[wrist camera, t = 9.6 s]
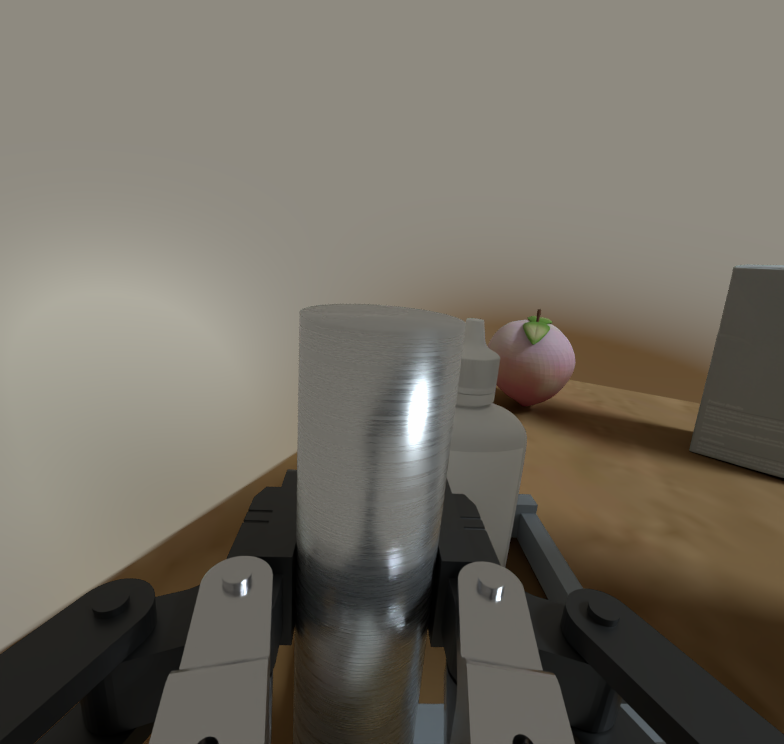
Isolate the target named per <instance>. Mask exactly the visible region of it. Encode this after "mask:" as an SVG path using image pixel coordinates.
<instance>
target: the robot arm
mask: <svg viewBox="0 0 784 744" xmlns="http://www.w3.org/2000/svg"><path fill="white" fill-rule="evenodd" d="M296 521H297V470H287V472H286V475H285V478H284V481H283V484H282V486H281V487H266V488H264V489H263V490H262V491H261V492H260V493H258V494H257V495H256V496H255V497H254V499H253V501H252V503H251V505H250V508H249V511H248V512H247V514H246V516H245V519H244V523H242V525H241V528H240V530H239V532H238V534H237V536H236V539H235V541H234V543H233V545H232V548H231V550H230V552H229V554H228V556H227V559H226V560H224V561H222V562H220V563H218V564H216V565H215V566H213V567H212V568H211V569H210V570H208V572H207V573H206V574H205V575H204V577H203V579H202V581H201V584H200V585H198V586H196V587H194V588H191V589H188V590H184V591H180V592H176V593H171V594H167V595H162V596H158V597H155V592H154V589H153V587H152V586H151V585H150V584H149V583H148V582H146V581H144V580H140V579H120V580H115V581H112V582H108V583H106V584H103V585H101V586H98V587H97V588H95V589H93V590H91V591H89V592H88V593H86V594H85V595H83V596H82V597H81V598H79V599H78V600H76V601H75V602H74V603H72V604H71V605H69V606H68V607H66V608H65V609H64V610H62V611H61V612H59V613H58V614H57V615H55V616H54V617H52V618H51V619H50V620H48V621H47V622H45V623H44V624H43V625H41V626H40V627H38V628H37V629H36V630H34V631H33V632H31V633H30V634H28V635H27V636H26V637H24V638H23V639H21V640H20V641H19V642H17V643H16V644H14V645H13V646H12V647H10V648H9V649H7V650H6V651H5V652H3V653H2V654H0V744H34V743H35V742H36V741H37V740H38V739H39V738H40V737H41V736H42V735H43V734H45V733H46V732H47V731H48V730H49V729H50V728H51V727H52V726H53V725H54V724H55V723H56V722H57V721H59V720H60V719H61V718H62V717H63V716H64V715H65V714H66V713H67V712H68V711H69V710H70V709H71V708H73V707H74V706H75V705H76V704H77V703H78V702H79V701H80V702H79V703H78V704H77V705H76V706H75V707H74V708H73V709H72V710H70V711H69V712H68V713H67V714H66V715H65V716H64V717H63V718H62V719H61V720H60V721H59V722H58V723H56V724H55V725H54V726H53V727H52V728H51V729H50V730H49V731H48V732H47V733H46V734H45V735H44V736H42V737H41V738H40V739H39V740H38V741H37V742H36V743H35V744H143V742H144V741H145V740H146V739H147V738H148V737H149V735H150V734H151V733H152V734H151V738H150V742H149V744H271V727H272V693H273V668H274V665H275V662H276V657H277V653H278V648H279V645H291V644H292V638H293V633H294V628H295V596H296ZM428 632H429V638H430V644H431V647H444V649H445V654H446V665H445V672H444V744H656V743H655V742H654V741H653V740H652V739H651V738H650V737H649V736H648V735H647V733H646V732H645V731H644V730H643V729H642V728H641V727H640V726H639V725H638V724H637V723H636V722H635V721H634V720H633V719H632V718H631V717H630V716H629V715H628V714H627V712H626V711H625V710H624V709H623V708H622V707H621V706H620V705H621V702H622V699H623V700H624V701H625V702H626V703H627V704H628V705H629V706H630V707H631V708H632V709H633V710H634V711H635V712H636V713H637V714H638V715H639V716H640V717H641V718H642V719H643V720H644V721H645V722H646V723H647V724H648V725H649V726H650V727H651V728H652V729H653V730H654V731H655V733H656V734H657V735H658V736H659V737H660V738H661V739H662V740H663V741H664V742H665V743H666V744H784V734H782V733H781V732H780V731H779V730H777V729H776V728H775V727H774V726H773V725H771V724H770V723H769V722H768V721H766V720H765V719H764V718H763V717H762V716H760V715H759V714H758V713H757V712H755V711H754V710H753V709H752V708H751V707H749V706H748V705H747V704H746V703H744V702H743V701H742V700H741V699H740V698H738V697H737V696H736V695H735V694H733V693H732V692H731V691H730V690H729V689H727V688H726V687H725V686H724V685H722V684H721V683H720V682H719V681H718V680H716V679H715V678H714V677H713V676H711V675H710V674H709V673H708V672H707V671H705V670H704V669H703V668H702V667H700V666H699V665H698V664H697V663H696V662H694V661H693V660H692V659H691V658H689V657H688V656H687V655H686V654H685V653H683V652H682V651H681V650H680V649H678V648H677V647H676V646H675V645H674V644H672V643H671V642H670V641H669V640H667V639H666V638H665V637H664V636H663V635H661V634H660V633H659V632H658V631H656V630H655V629H654V628H653V627H652V626H650V625H649V624H648V623H647V622H645V621H644V620H643V619H642V618H641V617H639V616H638V615H637V614H636V613H634V612H633V611H632V610H631V609H630V608H628V607H627V606H626V605H625V604H623V603H622V602H621V601H619V600H618V599H616V598H614V597H612V596H610V595H608V594H606V593H604V592H601V591H597V590H593V589H577V590H574V591H572V592H571V593H570V594H569V595H568V596H567V598H566V602H565V604H561V603H558V602H554V601H550V600H547V599H543V598H540V597H537V596H534V595H531V594H529V593H527V592H525V591H524V588H523V585H522V584H521V582H520V580H519V579H518V578H517V577H516V576H515V575H514V574H513V573H512V572H511V571H509V570H508V569H506V568H504V567H502V566H501V565H500V562H499V560H498V557H497V555H496V553H495V550H494V548H493V545H492V543H491V541H490V538H489V536H488V533H487V531H486V530H485V526H484V524H483V521H482V520H481V517H480V514H479V512H478V510H477V507H476V505H475V504H474V503H473V502H472V501H471V500H470V499H469V498H468V497H467V496H466V495H465V494H452V492H451V489H450V486H449V483H448V480H447V478H446V486H445V494H444V502H443V510H442V518H441V526H440V534H439V542H438V550H437V558H436V566H435V574H434V582H433V590H432V598H431V606H430V614H429V622H428Z"/></svg>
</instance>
